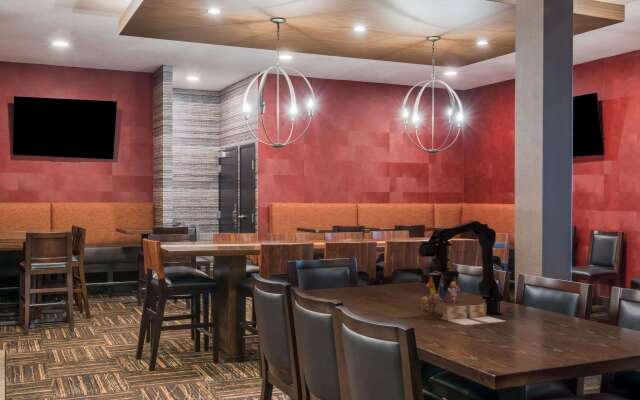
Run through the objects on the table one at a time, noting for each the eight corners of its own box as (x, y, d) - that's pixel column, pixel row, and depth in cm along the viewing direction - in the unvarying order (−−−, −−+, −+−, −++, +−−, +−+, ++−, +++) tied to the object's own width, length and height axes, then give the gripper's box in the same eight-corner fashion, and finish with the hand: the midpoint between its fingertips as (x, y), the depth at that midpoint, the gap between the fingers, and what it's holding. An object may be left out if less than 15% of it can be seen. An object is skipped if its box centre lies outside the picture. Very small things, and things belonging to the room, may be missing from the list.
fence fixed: (483, 316, 313) (483, 302, 313) (486, 317, 311) (486, 303, 311) (467, 318, 309) (467, 303, 309) (470, 318, 307) (470, 304, 307)
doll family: (461, 303, 351) (461, 277, 351) (447, 305, 345) (447, 279, 345) (432, 298, 368) (432, 273, 368) (418, 300, 363) (418, 275, 363)
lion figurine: (443, 313, 322) (443, 294, 322) (434, 314, 319) (435, 294, 319) (421, 309, 334) (421, 290, 334) (413, 309, 331) (413, 291, 331)
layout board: (481, 315, 316) (481, 314, 316) (505, 321, 301) (505, 320, 301) (440, 318, 307) (440, 318, 307) (464, 325, 291) (464, 324, 291)
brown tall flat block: (467, 316, 309) (467, 304, 309) (469, 317, 307) (469, 305, 307) (442, 318, 304) (442, 306, 304) (445, 319, 302) (445, 307, 302)
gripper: (414, 255, 314) (414, 289, 314) (437, 258, 297) (437, 294, 297) (435, 254, 318) (435, 288, 318) (459, 257, 301) (459, 293, 301)
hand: (441, 291), depth 309 cm, fingers open, 6 cm apart
